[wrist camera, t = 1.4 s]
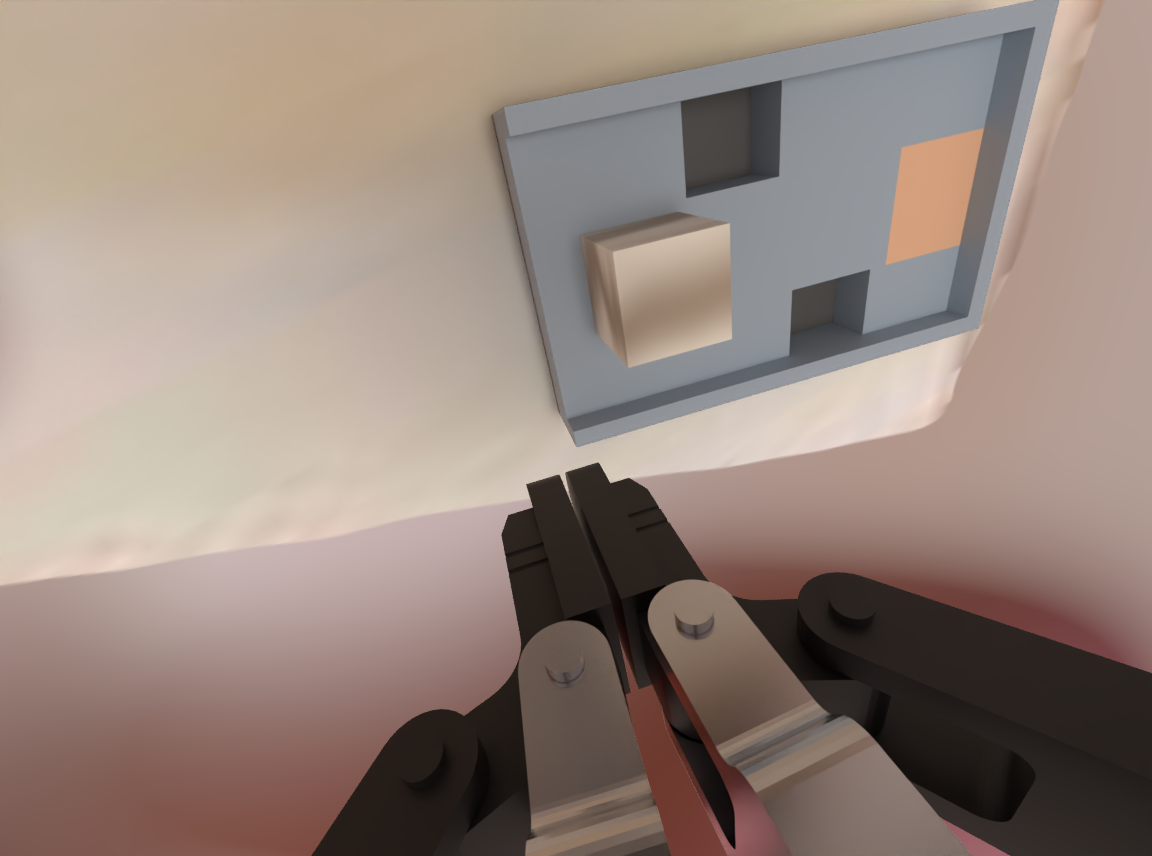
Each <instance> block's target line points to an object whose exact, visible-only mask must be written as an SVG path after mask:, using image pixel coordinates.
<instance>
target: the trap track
mask: <svg viewBox="0 0 1152 856" xmlns="http://www.w3.org/2000/svg"><path fill="white" fill-rule="evenodd" d="M1058 4H1059V0H1034V1H1029V2H1024V3H1019V4H1014V5H1009V6H1004V7H999V8H994V9H989V10H984V11H979V12H974V13H969V14H964V15H960V16H955V17H950V18H945V19H940V20H935V21H930V22H925V23H920V24H915V25H910V26H905V27H900V28H895V29H890V30H885V31H880V32H875V33H870V34H865V35H860V36H855V37H850V38H845V39H840V40H835V41H830V42H825V43H820V44H815V45H810V46H805V47H800V48H795V49H790V50H785V51H780V52H775V53H771V54H766V55H761V56H756V57H751V58H746V59H741V60H736V61H731V62H726V63H721V64H716V65H711V66H706V67H701V68H696V69H691V70H686V71H681V72H676V73H671V74H666V75H661V76H656V77H651V78H646V79H641V80H636V81H631V82H626V83H621V84H616V85H611V86H606V87H601V88H596V89H591V90H586V91H581V92H577V93H572V94H567V95H562V96H557V97H552V98H547V99H542V100H537V101H532V102H527V103H522V104H517V105H512V106H507V107H503V108H502V109H500V110H499V111H498V112H496V113H495V114H493V115H492V119H493V123H494V128H495V132H496V137H497V141H498V145H499V150H500V154H501V159H502V163H503V167H504V172H505V176H506V181H507V185H508V189H509V194H510V198H511V203H512V207H513V212H514V216H515V220H516V225H517V229H518V234H519V238H520V242H521V247H522V251H523V256H524V260H525V264H526V269H527V273H528V278H529V282H530V287H531V291H532V295H533V300H534V304H535V309H536V313H537V317H538V322H539V326H540V331H541V335H542V339H543V344H544V348H545V353H546V357H547V362H548V366H549V370H550V375H551V379H552V384H553V388H554V392H555V397H556V401H557V406H558V410H559V413H560V415H561V417H562V419H563V421H564V423H565V425H566V427H567V429H568V431H569V433H570V435H571V437H572V439H573V441H574V443H575V445H576V447H579V446H583V445H586V444H590V443H593V442H596V441H600V440H603V439H606V438H610V437H613V436H617V435H620V434H623V433H627V432H630V431H633V430H637V429H640V428H644V427H647V426H650V425H654V424H657V423H660V422H664V421H667V420H671V419H674V418H677V417H681V416H684V415H687V414H691V413H694V412H698V411H701V410H704V409H708V408H711V407H715V406H718V405H721V404H725V403H728V402H731V401H735V400H738V399H742V398H745V397H748V396H752V395H755V394H758V393H762V392H765V391H769V390H772V389H775V388H779V387H782V386H785V385H789V384H792V383H796V382H799V381H802V380H806V379H809V378H812V377H816V376H819V375H823V374H826V373H829V372H833V371H836V370H839V369H843V368H846V367H850V366H853V365H856V364H860V363H863V362H866V361H870V360H873V359H877V358H880V357H883V356H887V355H890V354H894V353H897V352H900V351H904V350H907V349H910V348H914V347H917V346H921V345H924V344H927V343H931V342H934V341H937V340H941V339H944V338H948V337H951V336H954V335H958V334H961V333H964V332H968V331H971V330H975V329H978V327H979V323H980V319H981V315H982V311H983V307H984V303H985V299H986V295H987V291H988V287H989V283H990V279H991V275H992V271H993V267H994V263H995V258H996V254H997V250H998V246H999V242H1000V238H1001V234H1002V230H1003V226H1004V222H1005V218H1006V214H1007V210H1008V206H1009V202H1010V198H1011V194H1012V190H1013V186H1014V182H1015V178H1016V174H1017V169H1018V165H1019V161H1020V157H1021V153H1022V149H1023V145H1024V141H1025V137H1026V133H1027V129H1028V125H1029V121H1030V117H1031V113H1032V109H1033V105H1034V101H1035V97H1036V93H1037V89H1038V84H1039V80H1040V76H1041V72H1042V68H1043V64H1044V60H1045V56H1046V52H1047V48H1048V44H1049V40H1050V36H1051V32H1052V28H1053V24H1054V20H1055V16H1056V12H1057V8H1058ZM674 212H681V213H686V214H690V215H695V216H700V217H704V218H709V219H713V220H718V221H723V222H727V223H730V257H731V309H732V339H730V340H727V341H723V342H720V343H716V344H713V345H709V346H705V347H702V348H698V349H695V350H691V351H687V352H684V353H680V354H677V355H673V356H669V357H666V358H662V359H659V360H655V361H652V362H648V363H644V364H641V365H637V366H634V367H630V368H628V367H627V366H626V365H625V364H624V363H623V361H622V360H621V359H620V358H619V357H618V356H617V355H616V354H615V353H614V352H613V351H612V350H611V349H610V348H609V347H608V346H607V344H606V343H605V342H604V341H603V340H602V339H601V338H600V337H599V336H598V335H597V334H596V328H595V322H594V316H593V310H592V304H591V298H590V292H589V286H588V280H587V274H586V268H585V262H584V256H583V250H582V244H581V238H580V235H582V234H586V233H591V232H595V231H599V230H603V229H607V228H611V227H616V226H620V225H624V224H628V223H632V222H636V221H641V220H645V219H649V218H653V217H657V216H662V215H666V214H670V213H674Z"/></svg>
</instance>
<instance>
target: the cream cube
mask: <svg viewBox="0 0 1152 856" xmlns="http://www.w3.org/2000/svg"><path fill="white" fill-rule="evenodd" d="M580 238H581V244H582V250H583V256H584V262H585V268H586V274H587V280H588V286H589V292H590V298H591V304H592V310H593V316H594V322H595V328H596V334H597V335H598V336H599V337H600V338H601V339H602V340H603V341H604V342H605V343H606V344H607V346H608V347H609V348H610V349H611V350H612V351H613V352H614V353H615V354H616V355H617V356H618V357H619V358H620V359H621V360H622V361H623V363H624V364H625V365H626V366H627V367H628V368H630V367H634V366H637V365H641V364H644V363H648V362H652V361H655V360H659V359H662V358H666V357H669V356H673V355H677V354H680V353H684V352H687V351H691V350H695V349H698V348H702V347H705V346H709V345H713V344H716V343H720V342H723V341H727V340H730V339H732V309H731V257H730V223H727V222H723V221H718V220H713V219H709V218H704V217H700V216H695V215H690V214H686V213H681V212H674V213H670V214H666V215H662V216H657V217H653V218H649V219H645V220H641V221H636V222H632V223H628V224H624V225H620V226H616V227H611V228H607V229H603V230H599V231H595V232H591V233H586V234H582V235H580Z"/></svg>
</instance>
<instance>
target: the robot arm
mask: <svg viewBox="0 0 1152 856" xmlns="http://www.w3.org/2000/svg"><path fill="white" fill-rule="evenodd" d="M565 474H566V480H567V484H568V489H569V493H570V497H571V501H572V504H571V502H570V500H569V497H568V495H567V492H566V490H565V487H564V485H563V482H562V480H561V477H560V475H555V476H552V477H549V478H546V479H542V480H539V481H536V482H532V483H529V484H526V485H527V489H528V492H529V496H530V499H531V502H532V506H533V508H530V509H527V510H524V511H520V512H517V513H514V514H511V515H508V518H507V520H506V523H505V526H504V529H503V532H502V540H503V545H504V551H505V556H506V561H507V567H508V572H509V578H510V583H511V588H512V594H513V599H514V604H515V609H516V615H517V621H518V625H519V631H520V637H521V652H520V657H519V660H518V663H517V665H516V668H515V670H514V672H513V673H512V675H511V676H510V678H509V679H508V681H507V682H506V683H505V684H504V685H503V686H502V687H501V689H499V690H498V691H497V692H496V693H495V694H494V695H492V696H491V697H490V698H489V699H487V700H486V701H484V702H483V703H481V704H480V705H479V706H477V707H476V708H475V709H473V710H472V711H470V712H469V713H468V714H467V715H465V716H463V715H461V714H459V713H457V712H455V711H451V710H445V709H440V710H432V711H428V712H425V713H422V714H420V715H418V716H416V717H414V718H413V719H411V720H410V721H408V722H407V723H406V724H404V725H403V726H402V727H401V728H399V729H398V730H397V731H396V733H394V735H393V736H392V737H391V738H390V739H389V740H388V742H387V743H386V744H385V746H384V747H383V749H382V750H381V752H380V753H379V755H378V756H377V758H376V760H375V761H374V762H373V764H372V765H371V767H370V768H369V770H368V771H367V773H366V774H365V776H364V777H363V779H362V780H361V782H360V783H359V785H358V786H357V788H356V789H355V791H354V792H353V794H352V795H351V797H350V799H349V800H348V802H347V803H346V804H345V806H344V808H343V809H342V811H341V812H340V814H339V815H338V817H337V818H336V820H335V821H334V823H333V824H332V826H331V827H330V829H329V830H328V832H327V833H326V835H325V836H324V838H323V839H322V841H321V842H320V844H319V845H318V847H317V848H316V850H315V851H314V853H313V854H312V856H671V854H670V851H669V847H668V844H667V840H666V837H665V833H664V830H663V826H662V823H661V819H660V816H659V813H658V810H657V806H656V803H655V800H654V798H653V796H652V793H651V790H650V786H649V783H648V779H647V776H646V773H645V769H644V765H643V762H642V759H641V755H640V751H639V748H638V744H637V741H636V737H635V734H634V730H633V726H632V721H631V717H630V712H629V708H628V703H627V699H626V694H628V693H630V688H629V683H628V678H627V673H626V669H625V664H624V660H623V655H622V650H621V645H622V647H623V650H624V652H625V655H626V658H627V660H628V663H629V665H630V668H631V670H632V672H633V675H634V678H635V681H636V683H637V685H638V688H639V689H640V688H643V687H646V686H649V685H653V687H654V690H655V692H656V695H657V697H658V699H659V702H660V704H661V706H662V710H663V717H664V722H665V727H666V729H667V732H668V733H669V736H670V738H671V740H672V742H673V744H674V746H675V748H676V750H677V752H678V754H679V756H680V758H681V761H682V763H683V765H684V767H685V769H686V771H687V773H688V775H689V777H690V779H691V781H692V783H693V785H694V787H695V789H696V791H697V793H698V795H699V797H700V800H701V801H702V803H703V806H704V807H705V810H706V812H707V814H708V816H709V818H710V820H711V822H712V824H713V826H714V828H715V830H716V832H717V834H718V836H719V838H720V840H721V842H722V844H723V847H724V848H725V851H726V853H727V856H972V855H971V854H970V852H969V851H968V850H967V849H966V848H965V847H964V845H963V844H962V843H961V842H960V841H959V839H958V838H957V837H956V836H955V835H954V833H953V832H952V831H951V830H950V829H949V827H948V826H947V825H946V824H945V823H944V822H943V820H942V819H941V818H943V819H944V820H946V821H948V822H950V823H952V824H953V825H955V826H957V827H959V828H961V829H963V830H964V831H966V832H968V833H970V834H972V835H974V836H976V837H977V838H979V839H981V840H983V841H985V842H987V843H988V844H990V845H992V846H994V847H996V848H997V849H999V850H1001V851H1003V852H1005V853H1007V854H1008V855H1010V856H1152V673H1150V672H1147V671H1144V670H1140V669H1138V668H1134V667H1131V666H1129V665H1125V664H1123V663H1120V662H1116V661H1114V660H1111V659H1108V658H1104V657H1102V656H1099V655H1096V654H1093V653H1090V652H1087V651H1084V650H1081V649H1078V648H1075V647H1072V646H1069V645H1066V644H1063V643H1060V642H1057V641H1054V640H1051V639H1048V638H1045V637H1042V636H1039V635H1036V634H1033V633H1030V632H1027V631H1024V630H1021V629H1018V628H1015V627H1012V626H1009V625H1006V624H1003V623H1000V622H997V621H994V620H991V619H988V618H985V617H982V616H979V615H976V614H973V613H970V612H967V611H964V610H961V609H958V608H955V607H952V606H949V605H946V604H943V603H940V602H937V601H934V600H931V599H928V598H925V597H922V596H919V595H916V594H913V593H910V592H907V591H904V590H901V589H898V588H895V587H892V586H889V585H886V584H883V583H880V582H877V581H874V580H871V579H868V578H865V577H862V576H859V575H855V574H849V573H838V572H836V573H827V574H822V575H819V576H817V577H814V578H812V579H811V580H809V581H808V582H807V583H806V584H805V585H804V586H803V587H802V589H801V591H800V593H799V596H798V599H784V600H783V599H782V600H748V599H742V598H738V597H734V596H732V595H730V594H729V593H728V592H727V591H726V590H724V589H723V588H721V587H719V586H718V585H715V584H713V583H710V582H709V581H708V580H707V579H706V578H705V576H704V575H703V573H702V572H701V570H700V569H699V567H698V566H697V564H696V563H695V561H694V560H693V558H692V557H691V555H690V554H689V552H688V550H687V549H686V547H685V546H684V544H683V543H682V541H681V540H680V538H679V537H678V535H677V534H676V532H675V531H674V529H673V528H672V526H671V524H670V523H668V521H667V518H666V517H665V515H664V514H663V512H662V511H661V509H659V507H658V505H657V503H656V501H655V500H654V498H653V497H652V496H651V494H650V492H649V491H648V489H646V488H645V487H643V486H642V485H640V484H638V483H637V482H635V481H633V480H632V479H630V478H627V479H624V480H620V481H617V482H614V483H611V484H610V482H609V480H608V478H607V476H606V475H605V473H604V471H603V469H602V467H601V466H600V464H599V463H595V464H591V465H588V466H585V467H582V468H578V469H575V470H572V471H568V472H566V473H565ZM572 505H573V507H572ZM620 642H621V645H620ZM940 817H941V818H940Z"/></svg>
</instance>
